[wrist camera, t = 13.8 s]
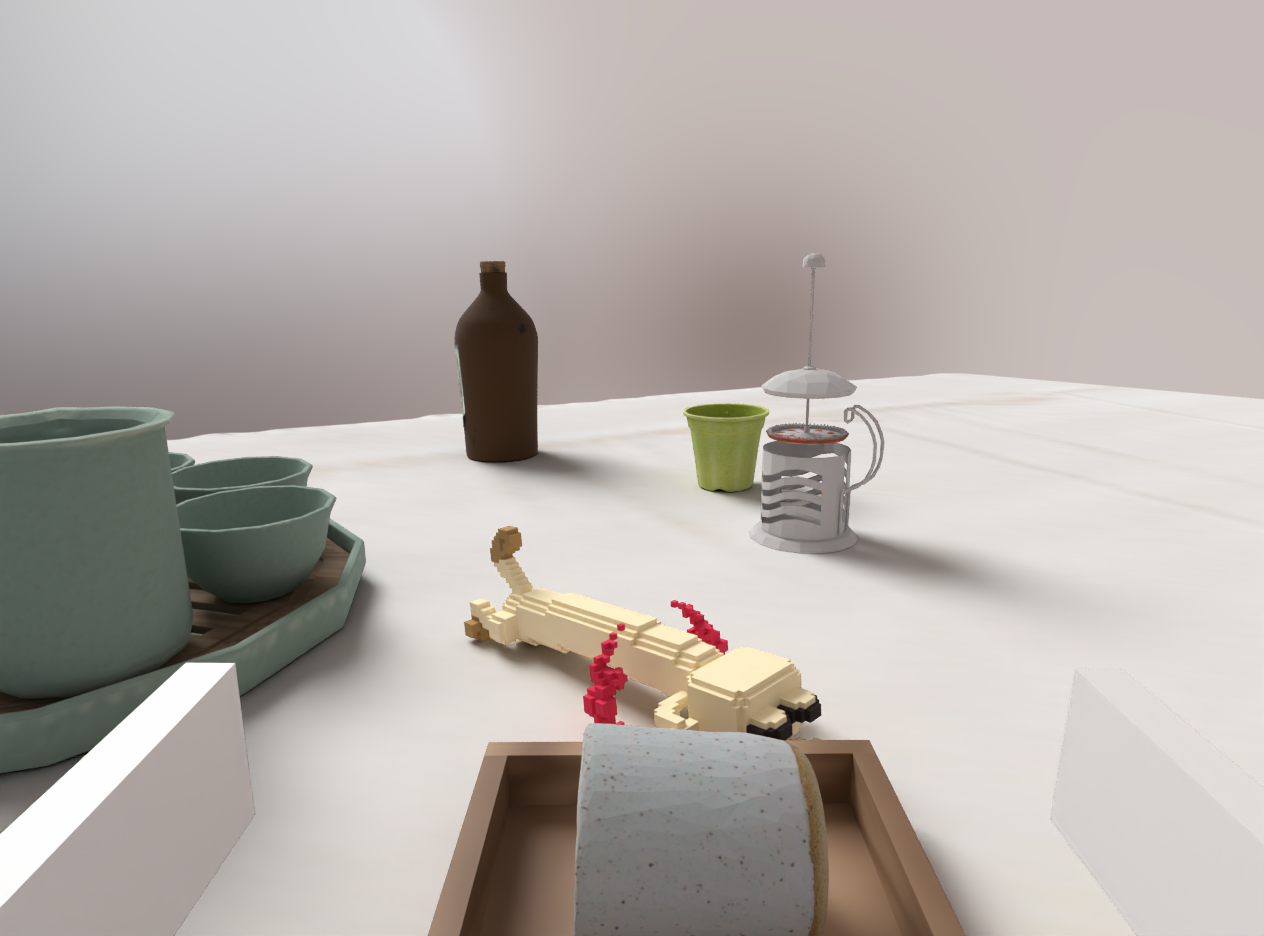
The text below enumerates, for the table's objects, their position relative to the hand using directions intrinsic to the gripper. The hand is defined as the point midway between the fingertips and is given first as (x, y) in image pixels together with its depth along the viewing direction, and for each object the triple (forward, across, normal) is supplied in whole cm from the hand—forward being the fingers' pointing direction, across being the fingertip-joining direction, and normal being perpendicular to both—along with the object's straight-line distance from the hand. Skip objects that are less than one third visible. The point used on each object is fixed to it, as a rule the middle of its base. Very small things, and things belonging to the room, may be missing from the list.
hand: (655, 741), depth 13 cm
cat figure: (+30, 0, -18) cm, 35 cm away
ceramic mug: (+14, +2, -16) cm, 21 cm away
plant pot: (+76, +11, -18) cm, 78 cm away
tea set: (+40, -40, -19) cm, 60 cm away
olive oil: (+93, -17, -19) cm, 96 cm away
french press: (+58, +16, -18) cm, 62 cm away
